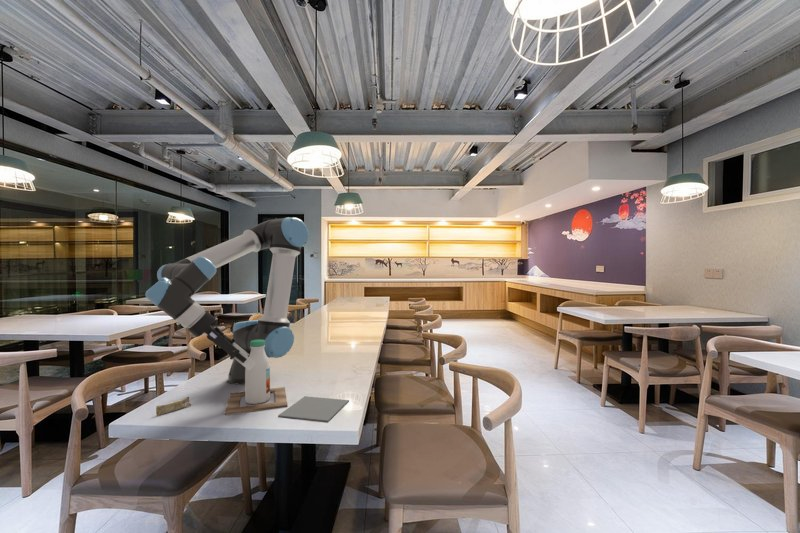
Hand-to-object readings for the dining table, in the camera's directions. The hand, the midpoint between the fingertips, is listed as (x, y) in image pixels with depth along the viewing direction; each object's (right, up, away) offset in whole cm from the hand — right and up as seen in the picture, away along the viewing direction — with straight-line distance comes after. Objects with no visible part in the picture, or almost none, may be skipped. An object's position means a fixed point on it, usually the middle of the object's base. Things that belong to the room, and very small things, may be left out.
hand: (249, 362), depth 116 cm
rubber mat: (+23, -13, -5) cm, 27 cm away
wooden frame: (+2, -13, +2) cm, 14 cm away
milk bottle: (+2, -13, +2) cm, 14 cm away
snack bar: (-21, -14, -6) cm, 26 cm away
